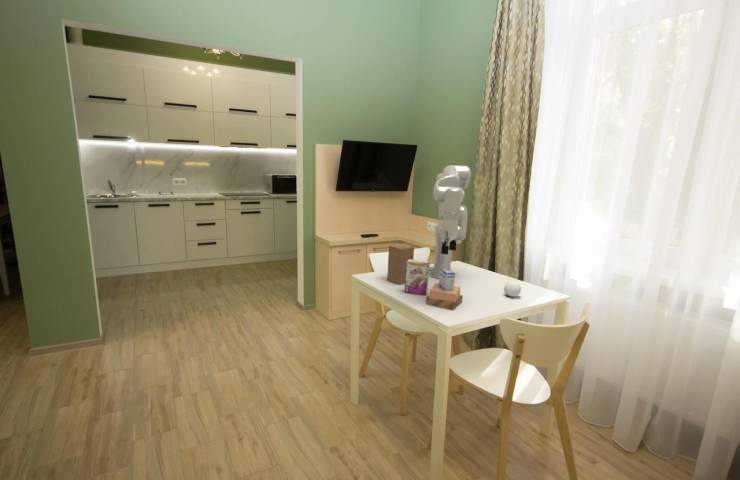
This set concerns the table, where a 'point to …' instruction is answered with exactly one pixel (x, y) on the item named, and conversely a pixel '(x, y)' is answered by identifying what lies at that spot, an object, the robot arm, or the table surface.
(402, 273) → the wooden block
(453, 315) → the table surface
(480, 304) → the table surface
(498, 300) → the table surface
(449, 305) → the tower bottom
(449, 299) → the tower top
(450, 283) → the medicine box
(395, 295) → the table surface
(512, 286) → the ball
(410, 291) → the candy bar box
